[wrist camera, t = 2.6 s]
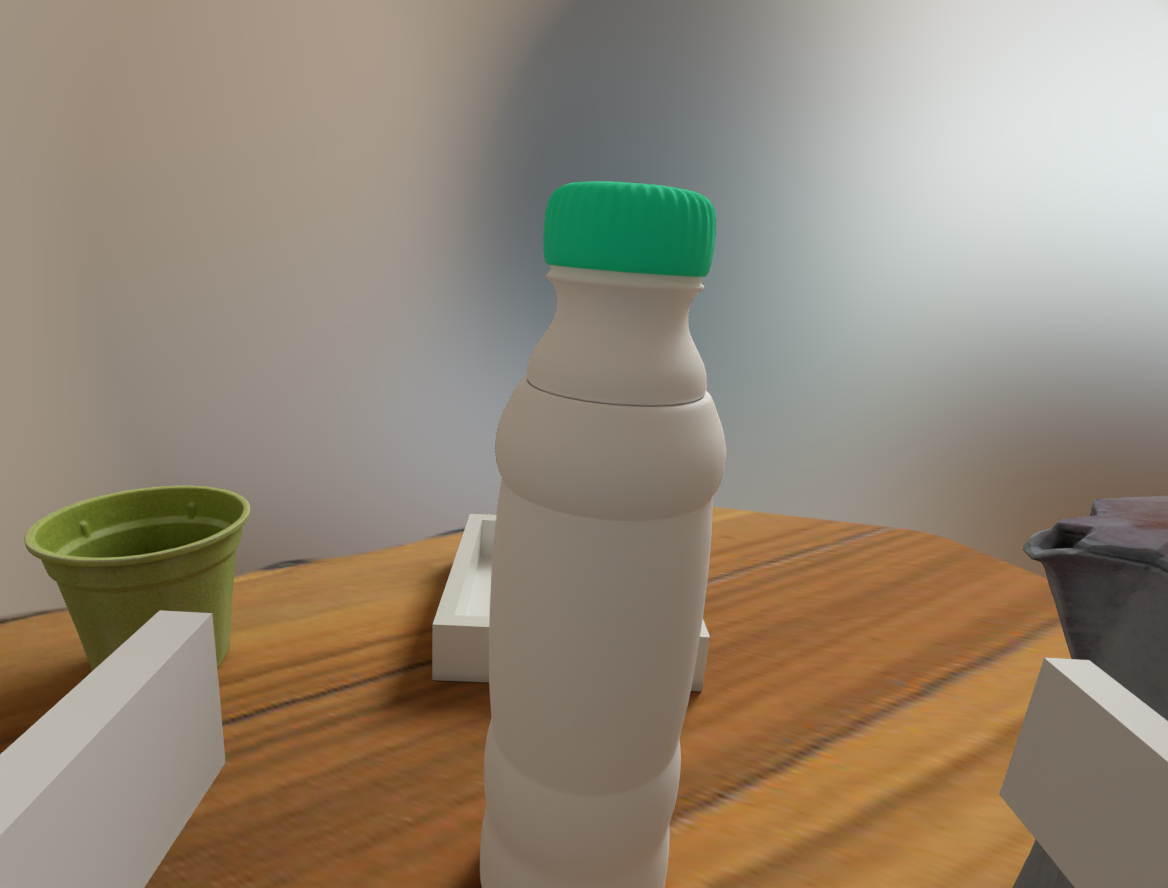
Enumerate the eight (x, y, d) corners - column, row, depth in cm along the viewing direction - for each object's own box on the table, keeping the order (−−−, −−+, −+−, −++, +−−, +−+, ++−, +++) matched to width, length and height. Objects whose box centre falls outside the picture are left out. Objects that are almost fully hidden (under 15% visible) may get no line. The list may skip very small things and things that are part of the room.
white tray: (662, 565, 51) (667, 524, 50) (701, 691, 37) (709, 637, 36) (469, 555, 50) (470, 513, 49) (432, 680, 36) (432, 624, 35)
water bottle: (511, 1010, 21) (562, 160, 13) (459, 831, 27) (474, 180, 20) (698, 931, 24) (823, 195, 16) (612, 785, 30) (675, 203, 22)
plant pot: (20, 674, 34) (-12, 521, 31) (202, 600, 42) (188, 472, 39) (112, 753, 29) (83, 581, 27) (296, 653, 37) (287, 513, 35)
